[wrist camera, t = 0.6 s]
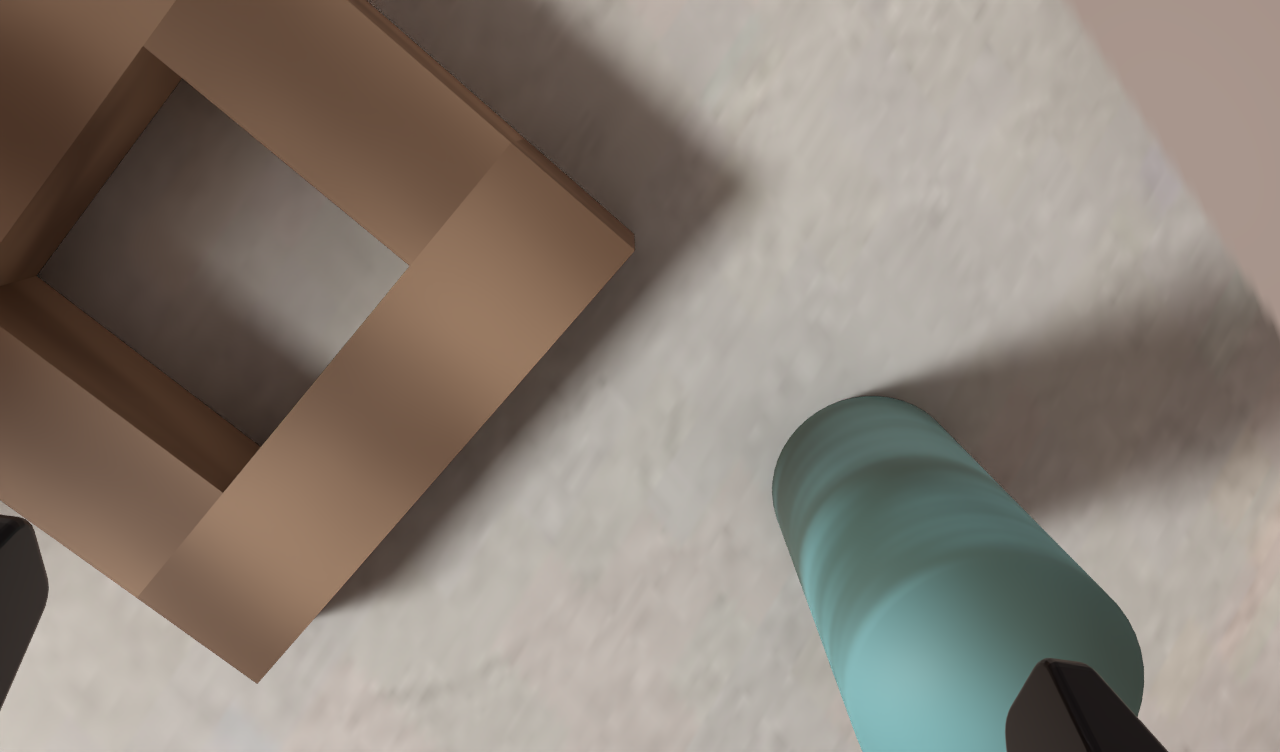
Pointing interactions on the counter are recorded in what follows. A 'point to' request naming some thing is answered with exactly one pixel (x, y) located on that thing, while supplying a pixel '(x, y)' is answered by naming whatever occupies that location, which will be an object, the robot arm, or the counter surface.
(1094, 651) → the teal peg
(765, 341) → the counter surface
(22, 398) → the walnut socket block
